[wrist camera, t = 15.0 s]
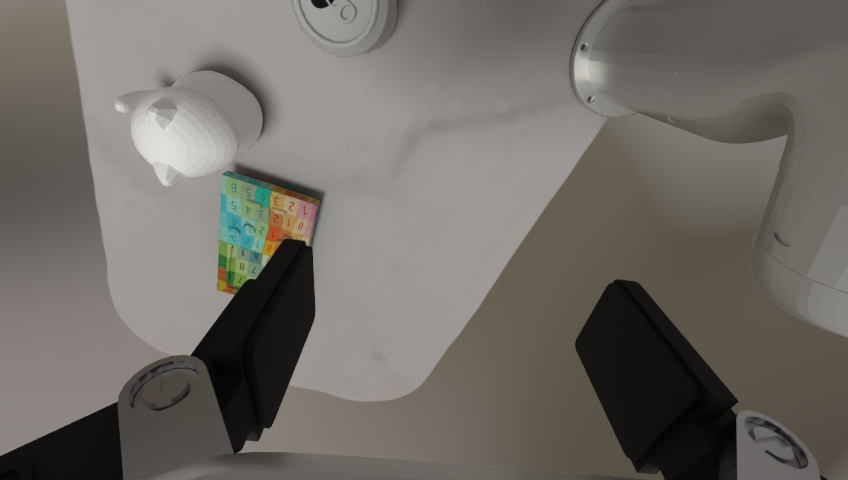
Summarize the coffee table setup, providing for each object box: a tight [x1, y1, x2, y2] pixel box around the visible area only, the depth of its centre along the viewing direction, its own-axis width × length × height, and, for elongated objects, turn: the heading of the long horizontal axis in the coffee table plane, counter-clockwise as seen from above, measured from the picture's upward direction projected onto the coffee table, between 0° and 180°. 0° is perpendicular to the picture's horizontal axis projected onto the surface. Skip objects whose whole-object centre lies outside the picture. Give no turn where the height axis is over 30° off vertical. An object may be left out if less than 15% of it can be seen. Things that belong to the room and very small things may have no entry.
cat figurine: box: [115, 71, 263, 187], centre depth 33 cm, size 9×12×15 cm
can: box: [291, 0, 398, 57], centre depth 29 cm, size 8×8×12 cm
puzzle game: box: [217, 171, 321, 295], centre depth 47 cm, size 12×5×20 cm
